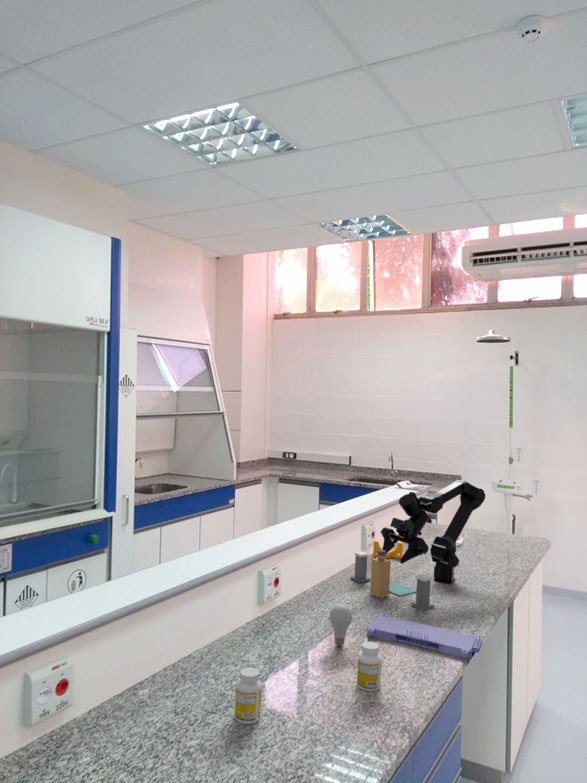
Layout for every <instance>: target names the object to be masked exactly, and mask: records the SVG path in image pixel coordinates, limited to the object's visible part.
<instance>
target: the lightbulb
mask: <svg viewBox="0 0 587 783" xmlns="http://www.w3.org/2000/svg"><path fill="white" fill-rule="evenodd" d="M352 613H353V612H352V611H351V609H350V608H349V607H348V606H346V605H344V604H337V605H335V606H333V607H331V610H330V612H329V615H328V616H329V621H330V624H331V625H332V628H333V636H334V644H335V645H337V646H338V647H342V646H344V644H345V639H346V636H347V631H348V628H349V627H350V625H351V623H352V620H353V614H352Z"/></svg>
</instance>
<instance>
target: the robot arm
mask: <svg viewBox="0 0 587 783" xmlns="http://www.w3.org/2000/svg"><path fill="white" fill-rule="evenodd" d="M458 496H459V500H460V505H459V507H458V509H457V510H456V512H455V514H454V516H453V517H452V520H451V521H450V523H449V524H448V526H447V528H446V530H445V532H444V534H443V535H442V536H437V535H436V536H435V538H434V540H433V542H432V543H431V547H430V548H429V545H428V543H426V541H425V539H424V538H422V537H419V536H422V534H423V533H422V530H423V528H424V527H425V526H426V524H432V523H433V521H432V516H431V515H429V514H437V513H439V512H440V511H441V510H442V509H443V507H444V504H446V503H447V502H449V501H451V500H453V499H455V498H456V497H458ZM485 499H486V493H485V491H484V489H483V488H479V487H477V486H475V485H472V484H471V483H469V482H468V481H465V480H461V479H460V480H459V479H456V480H455V481H454V482H452V483H451V484H449V485H447V486H445V487H443V488H441V489H439V490H438V491H435V492H431V493H430V492H429V493H424V494H422V495H421V496H420V497H417V494H416V493H415V492H414V491H409V493H407V494H404V495H402V496H401V497H400V498H399V499H398V504H399V506H400V508H402V510H403V511H404V513H405V514H406V516H408V517H409V518H408V519H404V520H402V519H400V518H396V517H392V519H391V521H390V522H391V523H390V525H389V526H390V527H391V528H389V527H383V528H382V529H381V530H380V534H381V536H382V537H383V545H382V547H381V548H382V550H385V551H386V554H387V553H388V552H389V551H390V550H392V549H394V548H395V547H396V545H395V544H397V543H398V542H403V544H404V543H405V544H407V548H406V550H405V552H404V554H402V558H400V560H399V563H400V564H401V565H402V564H405V563H406V562H408V561H410V560H412V559H414V558H417V557H418V556H423V555H425V556H426V554H427V553H428V552H429V549H430V556H431V561H432V562H434V563H435V565H434V566H433V581H435V582H441V583H446V584H452V583H453V582H454V581H455V580H456V577H455V568H456V567H458V566H459V564H460V559H459V557H458V556H457V554H456V552H457V544H456V543H457V541H458V539H459V538H460V535H461V533H462V531H463V530H464V528H465V525H466V524H467V522H468V521H469V518H470V517H471V515H472V513H473V512H474V511H475V510H477V509H479V508H480V507H481V505H482V504H483V503H484V501H485ZM428 513H429V514H428ZM392 528H394V529H396V530H395V531H394V529H392Z"/></svg>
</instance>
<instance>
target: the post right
mask: <svg viewBox="0 0 587 783" xmlns="http://www.w3.org/2000/svg"><path fill="white" fill-rule="evenodd" d="M369 555H370V554H369V553H367V552H364V551H357V552H356V551H355V552H354V556H355V561H354V563H355V564H354V575H351V576H350V580H352V581H354V582H356V581H357V582H356V583H358V582H359V583H358V584H362V583H361V582H363V583H367V582H366V581H368V582H371V577H369V576H367V568H368V567H367V566H368V557H369Z"/></svg>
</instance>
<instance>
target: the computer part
mask: <svg viewBox="0 0 587 783" xmlns="http://www.w3.org/2000/svg"><path fill="white" fill-rule="evenodd" d="M366 630H367V631H366V635H367V636H369V637H371V638H377V639H381V640H386V641H390V642H394V643H396V642H400V643H405V644H406V645H411V646H417V647H420V648H423V649H430V650H434V651H437V652H438V653H442V654H445V655H450V656H453V657H459V658H462V659H467V660H471V658H472V656H473V655H472V654H473V653H476V654H477V653H480V651H481V648H482V647H483V646H482V645H483V640H482V639H481V634H480V635H479V636H477V633H475V632H472V631H471V632H469V634H468V633H464V632H460V631H455V630H451V629H445V628H440V627H436V626H431V625H426V624H422V623H418V622H414V621H408V620H405V619H399V618H396V617H395V618H394V617H391V616H390V617H389V616H388V614H387V613H381V614H379V615H378V616H376V618H375V619H374V620H373V621H372V622H370V624H369V625H368V626H367V629H366Z"/></svg>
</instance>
